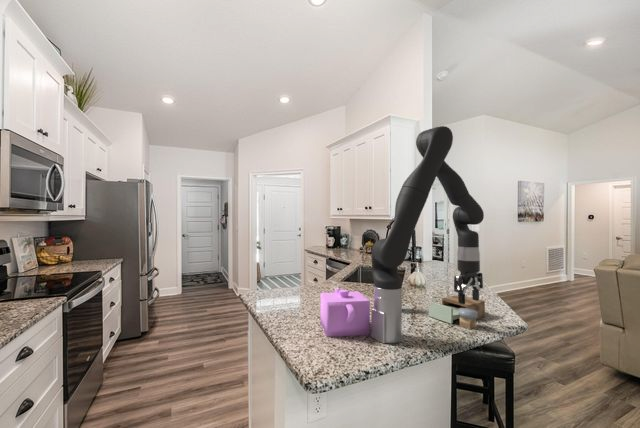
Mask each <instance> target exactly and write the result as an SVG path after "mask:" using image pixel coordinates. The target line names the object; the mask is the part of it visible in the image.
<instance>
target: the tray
mask: <svg viewBox="0 0 640 428" xmlns="http://www.w3.org/2000/svg"><path fill="white" fill-rule="evenodd" d="M428 317H431V318H434V319H436V320H440V321H442V322H445V323H447V324H452V325H453V323H454V321H455V320H457V319H458V320H460V316H459V308H456V307H452V306H449V305H448V306H445V305H442V303H441V304H440V303H438V302H434V301H428Z"/></svg>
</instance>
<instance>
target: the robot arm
mask: <svg viewBox="0 0 640 428" xmlns="http://www.w3.org/2000/svg"><path fill="white" fill-rule="evenodd" d="M415 139H416V140H415V144H416V149H417V151H418V153H419V154H420V155H421V157H422V160H421V161H420V163H419V164H418V165H417V167H415V169H414V170H413V171H412V172H411V173H410V174H409V176H408V177H407V178H406V179H405V181H404V182H403V184H402V186H401V189H400V190H399V192H398V195H397V196H396V197H397V198H396V201H395V207H394V220H393V223H392V227H391V229H390V231H389V233H388V235H387V237H386V238H381V239H379V240H376V242H375V243H374V244H373V246H372V251H371V274H372V275H371V276H372V279H373V308H372V309H371V310H370V311H371V313H370V315H371V316H370V321H371V322H370V324H371V325H370V326H371V329H370V331H371V333H370V335H371V336H370V338H373V339H375V340H377V341H378V342H380V343H382V344H394V343H395V344H396V343H400V342H401V341H402V338H403V337H402V336H403V335H402V331H403V328H402V327H403V325H402V323H403V321H402V318H403V316H402V314H403V311H402V310H403V309H402V306H403V303H402V301H403V295H402V294H403V282H402V281H403V280H402V278H401V277H400V274H399V271H398V267H400V266H401V265H402V264H403V263H404V261H405V260H406V257H407V254H408V251H409V247H410V244H411V240H412V236H413V234H414V231H415V228H416V226H417V224H418V221H419V219H420V216H421V214H422V212H423V209H424V207H425V204H426V203H427V199H428V198H429V194H430V192H431V189H432V187H433V186H434V182H435V180H436V178H437V180H438V182H440V185H441V187H442V188H443V190H444V193H445V194H446V196H447V199H448V200H449V202H450V204H452V205H453V206H457V207H455V208H454V210H453V212H452V221H453V225H454V227H455V230H456V235H457V254H456V256H457V271H459V273H460V274H459V275H454V277H453V278H454V279H453V292H454V293H457V295H458V301H459V303H461V304H465V296H466V291H467V290H469V288H470V287H471V289H472V290H471V291H472V292H471V293H472V297H471V298H472V299H473V300H476V301H478V300H480V291H481V289H483V288H484V283H483V282H484V280H483V279H484V278H483V277H484V276H483V273H482V272H480V271H481V260H480V259H481V257H480V256H481V255H480V254H481V253H480V248H479V247H480V245H479V243H480V241H479V239H480V236H479V233H478V232H477V231H474V230H472V229H470V228H469V225H479V224H481V223H483V220H484V218H485V217H484V216H485V215H484V214H485V213H484V210H483V208H482V207H481V205H480V204H479V203H478V202H477V200H476V199H474V197H473V196H472V195H471V194H470V192H469V190H468V188H467V186H466V184H465V182H464V180H463V178H462V177H461V176H460V174H459V173H458V172H457V171H456V170H454V169H453V168H452V167H451V166H450V165H449V164H448V163H447V162H446V161H445V160H446V158H447V156H448V154H449V152H450V150H451V148H452V146H453V142H454V141H453V140H454V134H453V132H452V129H451V128H449V127H447V126H444V125H442V126H441V125H440V126H436V127H432V128H429V129H426V130H423V131H421V132H420V133H418V135H417V137H416V138H415Z"/></svg>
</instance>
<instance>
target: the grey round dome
mask: <svg viewBox="0 0 640 428" xmlns="http://www.w3.org/2000/svg"><path fill="white" fill-rule="evenodd" d="M459 316H461V317H463V318H468V319H476V318H477V319H479V318H478V312H477V311H476V310H473V309H469V308H459ZM477 319H476V320H477Z"/></svg>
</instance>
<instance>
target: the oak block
mask: <svg viewBox="0 0 640 428" xmlns="http://www.w3.org/2000/svg"><path fill="white" fill-rule="evenodd" d="M459 327H461V328H465V329H468V330H472V329H473V330H474V329H475V328H477V319H468V318H463V317H461V316H460V318H459Z"/></svg>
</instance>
